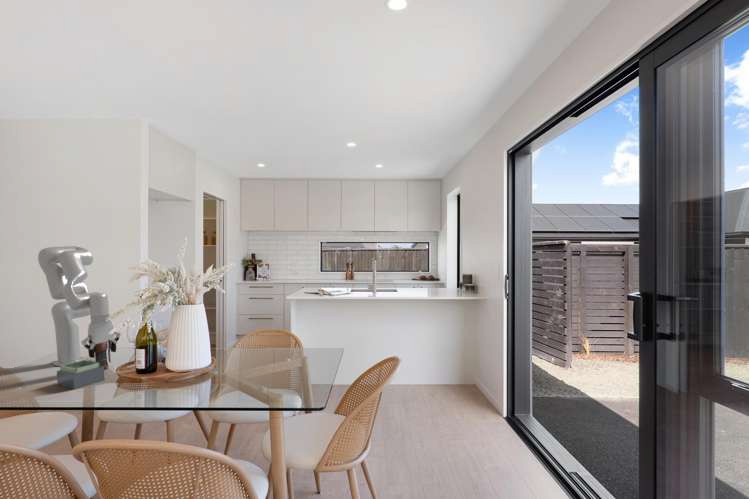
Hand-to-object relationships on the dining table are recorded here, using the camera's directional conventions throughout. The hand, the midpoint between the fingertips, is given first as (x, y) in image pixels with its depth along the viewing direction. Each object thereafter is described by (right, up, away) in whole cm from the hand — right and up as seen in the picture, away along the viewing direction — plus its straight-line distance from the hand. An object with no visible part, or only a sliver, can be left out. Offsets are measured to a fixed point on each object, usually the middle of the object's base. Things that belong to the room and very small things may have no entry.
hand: (103, 354), depth 201 cm
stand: (+2, -8, -18) cm, 20 cm away
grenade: (0, -7, 0) cm, 7 cm away
